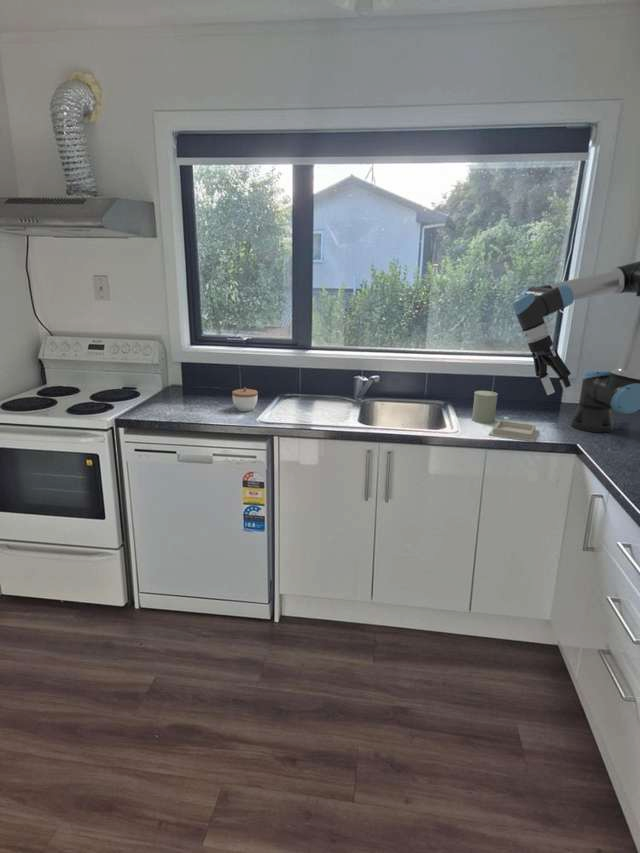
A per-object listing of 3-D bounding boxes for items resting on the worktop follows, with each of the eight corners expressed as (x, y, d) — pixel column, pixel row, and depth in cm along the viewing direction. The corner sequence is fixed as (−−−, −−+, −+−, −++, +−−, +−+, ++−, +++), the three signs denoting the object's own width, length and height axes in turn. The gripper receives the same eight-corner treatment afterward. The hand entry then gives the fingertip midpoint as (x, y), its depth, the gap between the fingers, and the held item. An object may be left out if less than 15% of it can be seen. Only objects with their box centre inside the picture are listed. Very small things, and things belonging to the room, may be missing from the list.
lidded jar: (227, 408, 230) (227, 387, 227) (248, 405, 237) (248, 384, 234) (241, 414, 223) (241, 392, 220) (262, 410, 230) (262, 388, 227)
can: (493, 424, 217) (496, 395, 213) (469, 421, 220) (472, 392, 217) (496, 419, 225) (499, 391, 221) (473, 416, 228) (476, 388, 225)
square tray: (496, 424, 216) (497, 418, 216) (538, 431, 209) (539, 424, 209) (488, 435, 203) (489, 428, 202) (533, 442, 196) (534, 435, 195)
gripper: (513, 344, 198) (534, 397, 201) (545, 341, 173) (568, 401, 176) (532, 336, 198) (553, 388, 201) (566, 331, 173) (589, 391, 176)
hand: (560, 394), depth 188 cm, fingers open, 13 cm apart
